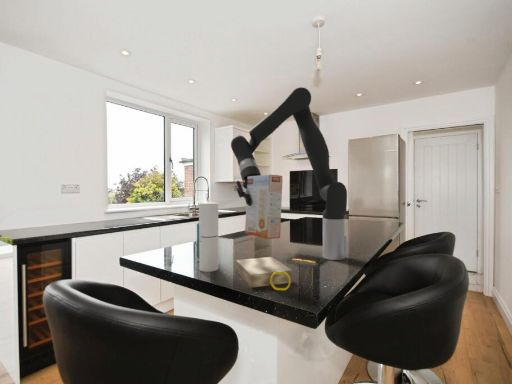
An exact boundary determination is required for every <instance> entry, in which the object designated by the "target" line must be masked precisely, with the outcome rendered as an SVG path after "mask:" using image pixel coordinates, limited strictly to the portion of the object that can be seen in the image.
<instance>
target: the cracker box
mask: <svg viewBox="0 0 512 384" xmlns="http://www.w3.org/2000/svg"><path fill="white" fill-rule="evenodd" d="M247 188H249V189H248V190H249V194H250V198H251V201H252V203H251V206H248V204H246V203H245V204H246V206H245V225H244V226H245V227H244V229H245V230H244V233H245V234H247V235H251V236H255V237H258V238H262V239H267V240H271V239H272V240H273V239H280V238H281V227H282V225H281V224H282V221H281V220H282V202H283V201H282V198H283V197H282V194H283V175H278V174H263V175H262V174H261V175H260V176H249V177H247Z"/></svg>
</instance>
